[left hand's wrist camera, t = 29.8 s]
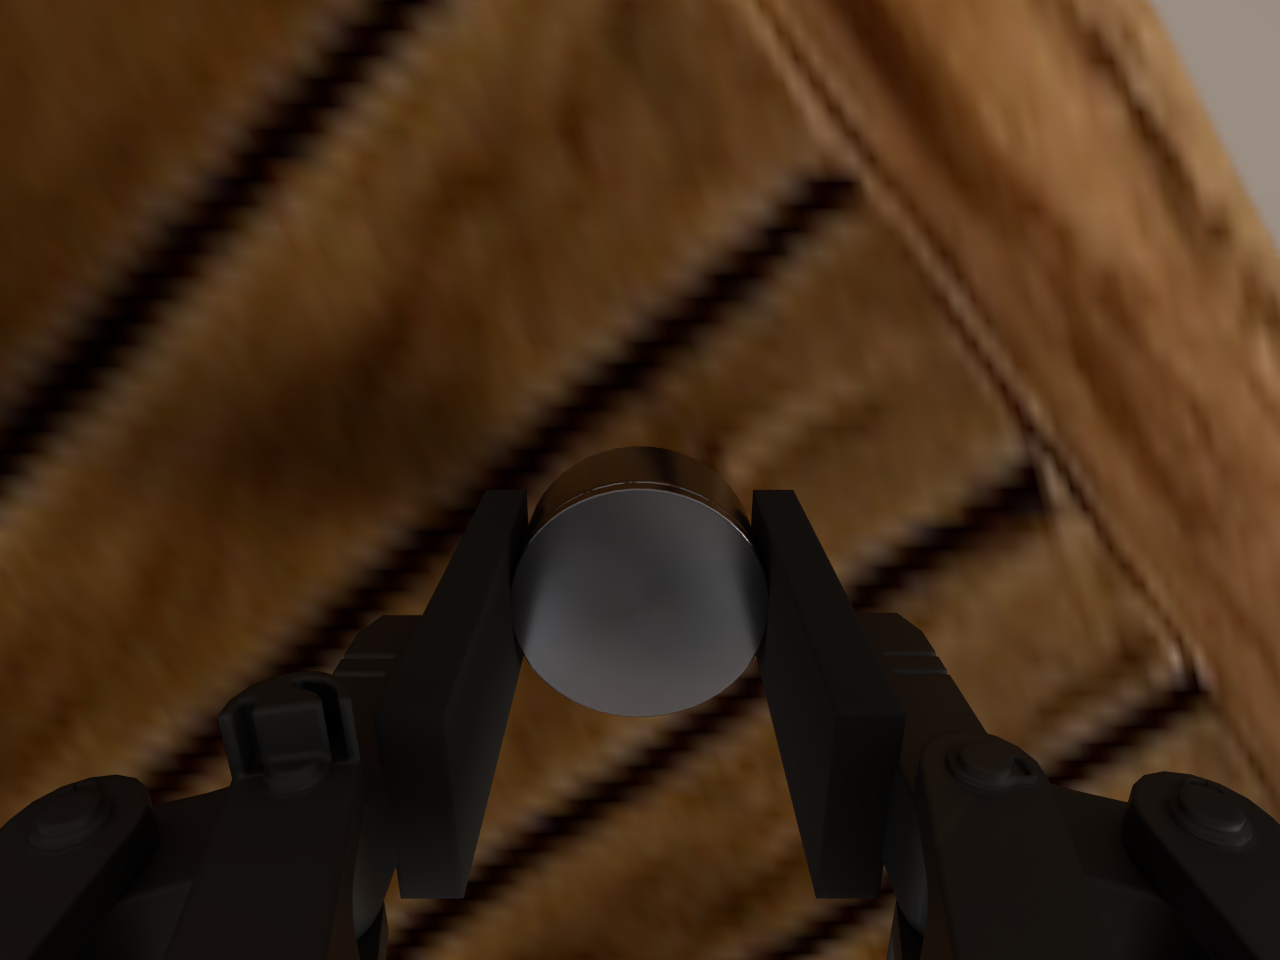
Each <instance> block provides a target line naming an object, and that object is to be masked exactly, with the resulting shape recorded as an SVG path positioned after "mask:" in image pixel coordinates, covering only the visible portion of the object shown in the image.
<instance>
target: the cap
mask: <svg viewBox="0 0 1280 960" xmlns="http://www.w3.org/2000/svg"><path fill="white" fill-rule="evenodd" d="M510 594H511V610H512V623H513V632H514V635H515V638H516V641H517V643H518V645H519V647H520V649H521V651H522V653H523V655H524V657H525V658H526V660H527V661H528V662H529V664H530V665H531V667H532V668H533V669H534V671H535V672H536V673H537V674H538V675H539V676H540V677H541V678H542V679H543V680H544V681H545V682H546V683H547V684H549V685H550V686H551V687H552V688H553V689H555V690H556V691H557V692H559V693H561V694H562V695H564V696H565V697H567V698H568V699H570V700H572V701H574V702H576V703H578V704H580V705H582V706H585V707H588V708H591V709H593V710H596V711H599V712H604V713H608V714H612V715H619V716H628V717H650V716H661V715H666V714H671V713H676V712H679V711H683V710H686V709H689V708H692V707H694V706H696V705H699V704H701V703H703V702H705V701H707V700H709V699H711V698H712V697H714V696H715V695H717V694H719V693H720V692H722V691H723V690H724V689H725V688H727V687H728V686H729V685H731V684H732V683H733V682H734V681H735V680H736V679H737V678H738V677H739V676H740V675H741V674H742V673H743V672H744V670H745V669H746V668H747V667H748V665H749V664H750V663H751V661H752V660H753V658H754V656H755V655H756V653H757V651H758V649H759V648H760V646H761V643H762V640H763V638H764V635H765V633H766V628H767V617H768V602H769V584H768V580H767V575H766V572H765V569H764V566H763V562H762V559H761V556H760V553H759V550H758V547H757V544H756V541H755V538H754V535H753V532H752V529H751V526H750V523H749V520H748V517H747V515H746V512H745V510H744V508H743V506H742V504H741V502H740V500H739V499H738V497H737V495H736V494H735V493H734V492H733V490H732V489H731V488H730V486H729V485H728V484H727V483H726V482H725V481H724V480H723V479H722V478H721V477H720V476H719V475H718V474H716V473H715V472H714V471H712V470H711V469H710V468H709V467H707V466H706V465H704V464H702V463H700V462H699V461H697V460H695V459H693V458H691V457H688V456H686V455H683V454H681V453H678V452H674V451H671V450H667V449H662V448H655V447H634V446H633V447H624V448H617V449H612V450H608V451H604V452H601V453H598V454H595V455H593V456H591V457H588V458H586V459H584V460H582V461H581V462H579V463H577V464H575V465H574V466H572V467H571V468H569V469H568V470H567V471H565V472H564V473H562V474H561V475H560V476H559V477H558V478H557V479H556V480H555V481H554V482H553V483H552V484H551V485H550V487H549V488H548V489H547V490H546V492H545V493H544V494H543V496H542V497H541V499H540V501H539V502H538V504H537V506H536V508H535V510H534V513H533V515H532V518H531V520H530V523H529V526H528V529H527V532H526V535H525V538H524V541H523V544H522V547H521V550H520V553H519V556H518V559H517V563H516V565H515V568H514V572H513V576H512V580H511V584H510Z"/></svg>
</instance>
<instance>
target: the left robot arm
mask: <svg viewBox="0 0 1280 960" xmlns="http://www.w3.org/2000/svg"><path fill="white" fill-rule="evenodd" d="M527 529H528V510H527V493H526V490H486V492H485V494H484V496H483V497H482V499H481V501H480V503H479V505H478V507H477V509H476V511H475V513H474V515H473V517H472V519H471V521H470V523H469V525H468V527H467V529H466V531H465V533H464V535H463V537H462V539H461V541H460V543H459V545H458V547H457V549H456V551H455V553H454V555H453V557H452V558H451V560H450V562H449V564H448V566H447V568H446V570H445V572H444V574H443V576H442V578H441V580H440V582H439V584H438V586H437V588H436V590H435V592H434V594H433V596H432V598H431V600H430V602H429V604H428V606H427V608H426V610H425V612H424V614H423V615H383V616H381V617H380V618H379V619H377V620H376V621H375V622H373V623H372V624H370V625H369V626H368V627H366V628H365V629H364V630H362V631H361V632H360V633H358V634H357V636H356V637H355V639H354V641H353V642H352V644H351V645H350V647H349V649H348V650H347V652H346V653H345V655H344V659H342V660H341V661H340V663H339V664H338V666H337V667H336V669H335V671H334V672H333V675H331V674H328V673H324V672H320V671H309V672H293V673H289V674H284V675H280V676H275V677H271V678H269V679H267V680H264V681H262V682H260V683H257V684H255V685H253V686H250V687H248V688H247V689H245V690H244V691H243V692H241V693H240V694H238V695H237V696H235V697H234V698H233V699H231V700H230V701H229V702H228V703H227V704H226V706H225V707H224V708H223V710H222V711H221V712H220V713H219V715H218V716H217V717H218V721H219V725H220V730H221V734H222V738H223V742H224V746H225V750H226V754H227V758H228V763H229V767H230V771H231V775H232V782H231V784H230V786H229V787H226V788H223V789H219V790H216V791H213V792H209V793H206V794H201V795H197V796H193V797H188V798H184V799H179V800H175V801H170V802H166V803H162V804H157V805H153V806H152V803H151V799H150V796H149V792H148V789H147V788H146V787H145V786H144V785H143V784H142V783H141V782H140V781H139V780H137V779H136V778H132V777H126V776H121V775H109V776H100V777H91V778H88V779H84V780H81V781H78V782H75V783H72V784H69V785H66V786H63V787H60V788H58V789H56V790H55V791H53V792H51V793H49V794H47V795H45V796H43V797H41V798H39V799H37V800H35V801H33V802H32V803H31V804H29V805H28V806H27V807H26V808H24V809H23V810H22V811H20V812H19V813H18V814H17V815H15V816H14V817H13V818H11V819H10V820H9V821H8V822H7V823H6V824H5V825H4V826H3V827H2V828H1V829H0V960H386V951H387V941H388V924H387V917H386V911H385V905H384V898H385V895H386V893H387V890H388V887H389V884H390V881H391V879H392V876H393V873H394V870H395V867H396V869H397V876H398V882H399V889H400V895H401V898H464V894H465V890H466V886H467V882H468V878H469V874H470V870H471V865H472V861H473V857H474V853H475V849H476V845H477V841H478V837H479V833H480V829H481V825H482V821H483V817H484V813H485V809H486V805H487V801H488V797H489V793H490V789H491V785H492V781H493V777H494V773H495V769H496V765H497V761H498V757H499V753H500V749H501V745H502V741H503V736H504V732H505V728H506V724H507V720H508V716H509V712H510V708H511V704H512V700H513V696H514V692H515V688H516V684H517V680H518V676H519V672H520V668H521V664H522V660H523V656H524V655H523V653H522V651H521V649H520V647H519V645H518V643H517V641H516V638H515V635H514V632H513V623H512V610H511V594H510V584H511V580H512V576H513V572H514V568H515V565H516V563H517V559H518V556H519V553H520V550H521V547H522V544H523V541H524V538H525V535H526V532H527ZM751 529H752V532H753V535H754V538H755V541H756V544H757V547H758V550H759V553H760V556H761V559H762V562H763V566H764V569H765V572H766V575H767V580H768V584H769V602H768V617H767V628H766V633H765V635H764V638H763V640H762V643H761V646H760V648H759V649H758V651H757V653H756V658H757V662H758V666H759V670H760V674H761V678H762V682H763V686H764V690H765V694H766V698H767V702H768V706H769V710H770V714H771V718H772V722H773V726H774V730H775V734H776V738H777V742H778V746H779V750H780V755H781V759H782V763H783V767H784V771H785V775H786V779H787V783H788V787H789V791H790V795H791V799H792V803H793V807H794V811H795V815H796V819H797V823H798V827H799V831H800V835H801V839H802V843H803V847H804V851H805V855H806V859H807V863H808V867H809V871H810V876H811V880H812V884H813V888H814V892H815V896H816V898H879V892H880V886H881V879H882V872H883V866H884V865H885V868H886V871H887V873H888V876H889V879H890V882H891V885H892V887H893V890H894V893H895V896H896V898H897V899H896V905H895V911H894V917H893V923H892V929H891V935H890V941H889V947H888V954H887V960H1280V824H1278V823H1277V822H1276V821H1275V820H1274V819H1273V818H1272V817H1271V816H1270V815H1269V814H1267V813H1266V812H1265V811H1263V810H1262V809H1261V808H1259V807H1258V806H1257V805H1256V804H1254V803H1253V802H1252V801H1250V800H1249V799H1248V798H1246V797H1244V796H1242V795H1240V794H1238V793H1236V792H1234V791H1232V790H1231V789H1229V788H1227V787H1225V786H1223V785H1221V784H1219V783H1216V782H1213V781H1210V780H1206V779H1203V778H1200V777H1197V776H1194V775H1191V774H1183V773H1174V772H1165V771H1163V772H1158V773H1152V774H1147V775H1144V776H1143V777H1141V778H1140V779H1139V780H1138V781H1137V782H1136V783H1135V784H1134V785H1133V787H1132V790H1131V794H1130V797H1129V800H1128V802H1124V801H1119V800H1115V799H1110V798H1106V797H1101V796H1097V795H1092V794H1088V793H1084V792H1079V791H1075V790H1071V789H1068V788H1064V787H1061V786H1057V785H1054V784H1051V783H1049V780H1048V778H1047V776H1046V775H1045V773H1044V772H1043V770H1042V769H1041V767H1040V766H1039V764H1038V763H1037V761H1035V760H1034V759H1033V758H1032V757H1030V756H1029V755H1028V754H1027V753H1025V752H1024V751H1023V750H1022V749H1020V748H1019V747H1018V746H1016V745H1014V744H1012V743H1009V742H1007V741H1005V740H1003V739H1001V738H999V737H997V736H994V735H990V734H987V733H986V731H985V729H984V728H983V726H982V725H981V723H980V722H979V720H978V718H977V717H976V715H975V714H974V712H973V711H972V709H971V707H970V706H969V704H968V703H967V701H966V700H965V698H964V696H963V695H962V693H961V692H960V690H959V689H958V687H957V685H956V684H955V682H954V681H953V679H952V678H951V676H950V675H947V670H946V668H945V667H944V665H943V663H942V662H941V660H940V659H939V657H936V655H935V653H936V652H935V651H934V649H933V648H932V646H931V645H930V643H929V642H928V640H927V638H926V637H925V635H924V634H923V632H922V631H921V630H920V629H918V628H917V627H915V626H914V625H913V624H911V623H910V622H909V621H907V620H906V619H904V618H903V617H902V616H900V615H899V614H898V613H855V611H854V609H853V607H852V605H851V603H850V601H849V599H848V597H847V595H846V593H845V591H844V589H843V587H842V585H841V583H840V581H839V579H838V577H837V575H836V573H835V571H834V569H833V567H832V565H831V563H830V561H829V559H828V558H827V556H826V554H825V552H824V550H823V548H822V546H821V544H820V542H819V540H818V538H817V536H816V534H815V532H814V530H813V528H812V526H811V524H810V522H809V520H808V518H807V516H806V514H805V512H804V510H803V508H802V506H801V504H800V502H799V500H798V498H797V496H796V495H795V493H794V491H793V490H753V502H752V519H751Z"/></svg>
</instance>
